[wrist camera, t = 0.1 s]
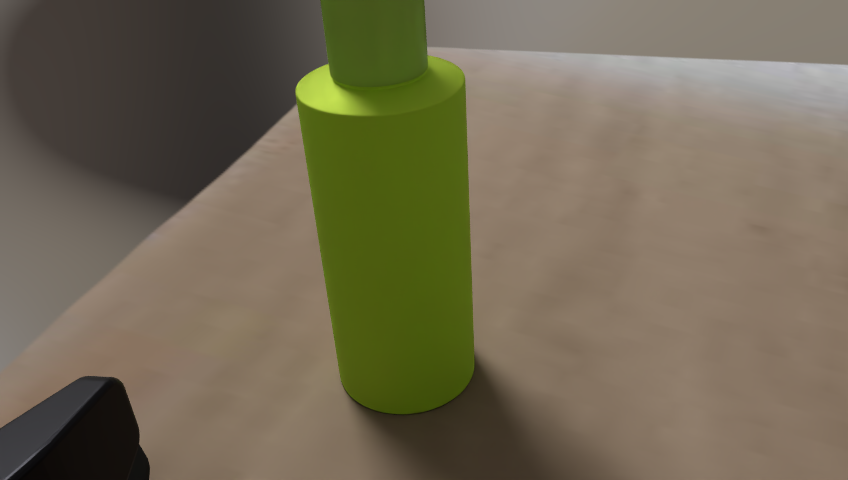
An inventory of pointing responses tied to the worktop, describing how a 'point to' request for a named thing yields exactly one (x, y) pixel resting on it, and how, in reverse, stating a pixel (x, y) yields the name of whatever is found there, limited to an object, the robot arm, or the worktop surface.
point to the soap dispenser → (391, 205)
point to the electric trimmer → (140, 466)
